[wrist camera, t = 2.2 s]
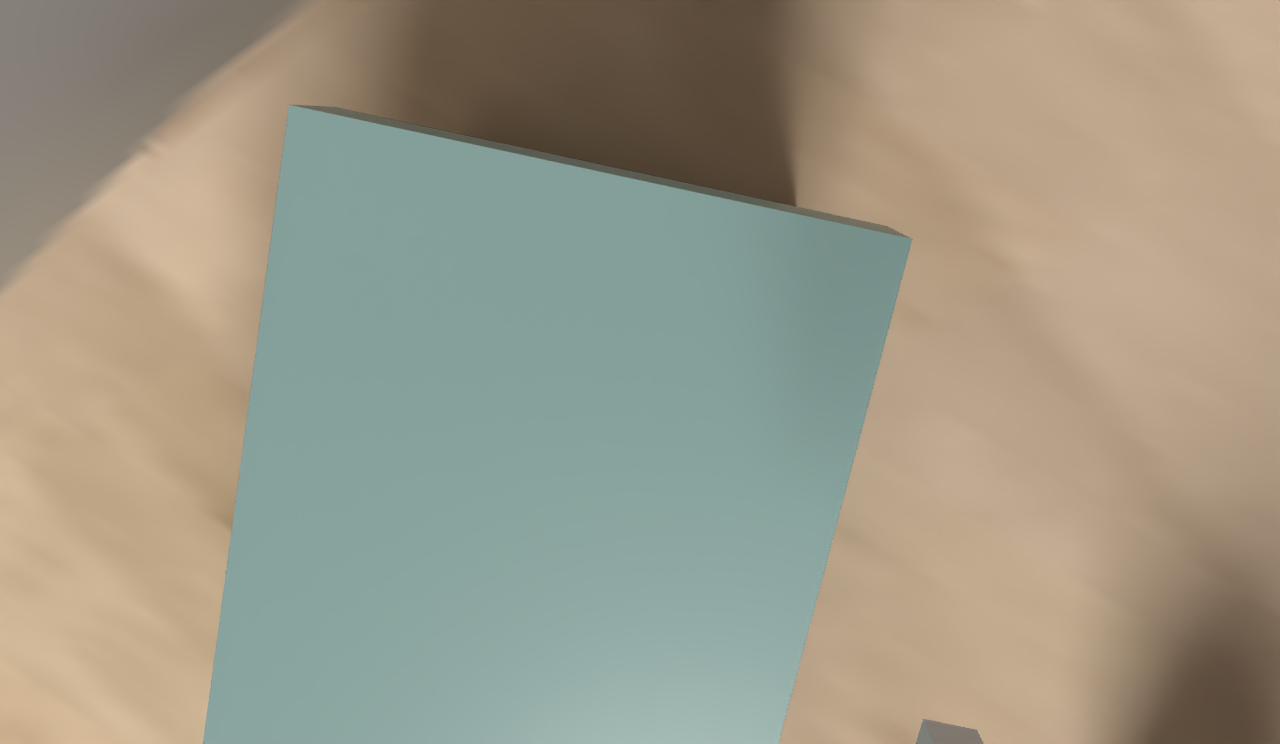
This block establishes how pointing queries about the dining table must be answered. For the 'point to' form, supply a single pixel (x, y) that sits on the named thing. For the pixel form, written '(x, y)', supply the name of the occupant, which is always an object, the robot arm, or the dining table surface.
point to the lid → (536, 447)
